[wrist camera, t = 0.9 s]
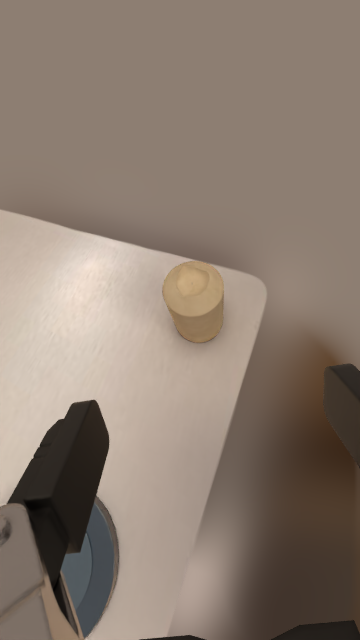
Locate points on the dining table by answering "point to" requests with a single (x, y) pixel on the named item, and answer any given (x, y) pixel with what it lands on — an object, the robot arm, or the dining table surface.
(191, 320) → the candle
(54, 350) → the dining table surface
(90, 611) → the saucer
